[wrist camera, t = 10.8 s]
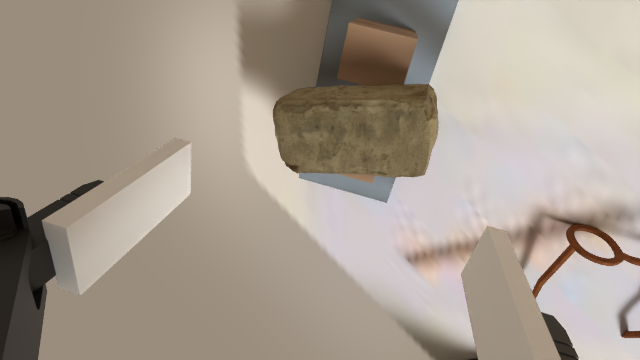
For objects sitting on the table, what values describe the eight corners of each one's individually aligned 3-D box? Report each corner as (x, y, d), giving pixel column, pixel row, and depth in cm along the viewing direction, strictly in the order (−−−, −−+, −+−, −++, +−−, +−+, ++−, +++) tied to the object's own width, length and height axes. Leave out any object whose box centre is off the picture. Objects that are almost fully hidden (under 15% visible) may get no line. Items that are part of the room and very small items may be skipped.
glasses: (699, 249, 35) (741, 286, 30) (623, 334, 41) (648, 374, 37) (561, 217, 36) (582, 248, 32) (508, 303, 42) (519, 338, 38)
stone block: (286, 85, 28) (265, 102, 24) (437, 78, 25) (445, 95, 21) (295, 152, 31) (278, 178, 26) (433, 152, 28) (438, 180, 24)
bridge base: (387, 198, 39) (383, 235, 33) (301, 173, 40) (282, 206, 34) (467, -30, 28) (484, -36, 22) (345, -56, 29) (329, -69, 23)
